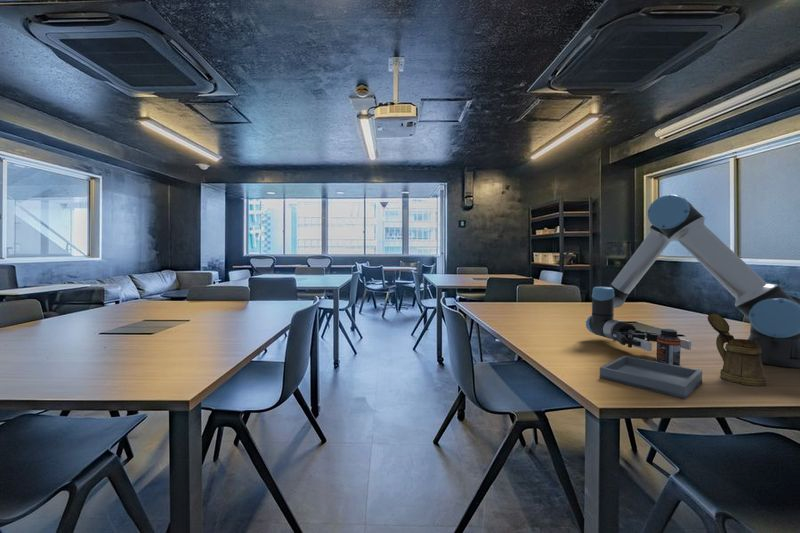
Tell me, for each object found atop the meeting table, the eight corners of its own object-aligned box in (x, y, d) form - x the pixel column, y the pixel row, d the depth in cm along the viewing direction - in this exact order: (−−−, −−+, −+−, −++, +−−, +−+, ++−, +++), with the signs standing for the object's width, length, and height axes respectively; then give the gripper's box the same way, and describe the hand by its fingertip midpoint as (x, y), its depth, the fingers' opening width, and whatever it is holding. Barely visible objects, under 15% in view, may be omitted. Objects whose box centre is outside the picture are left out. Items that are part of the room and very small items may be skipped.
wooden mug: (720, 369, 108) (721, 310, 107) (775, 385, 95) (777, 318, 94) (696, 371, 106) (698, 311, 106) (748, 387, 93) (751, 319, 92)
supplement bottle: (651, 362, 114) (652, 327, 114) (668, 362, 114) (669, 327, 114) (666, 368, 108) (667, 331, 108) (685, 368, 108) (686, 331, 108)
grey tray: (702, 381, 97) (702, 370, 97) (684, 399, 85) (685, 386, 85) (624, 364, 112) (624, 355, 112) (599, 378, 100) (599, 367, 99)
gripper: (650, 340, 133) (705, 356, 112) (588, 342, 130) (633, 359, 109) (651, 321, 132) (706, 333, 111) (589, 322, 130) (633, 335, 108)
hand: (670, 346), depth 110 cm, fingers open, 13 cm apart
